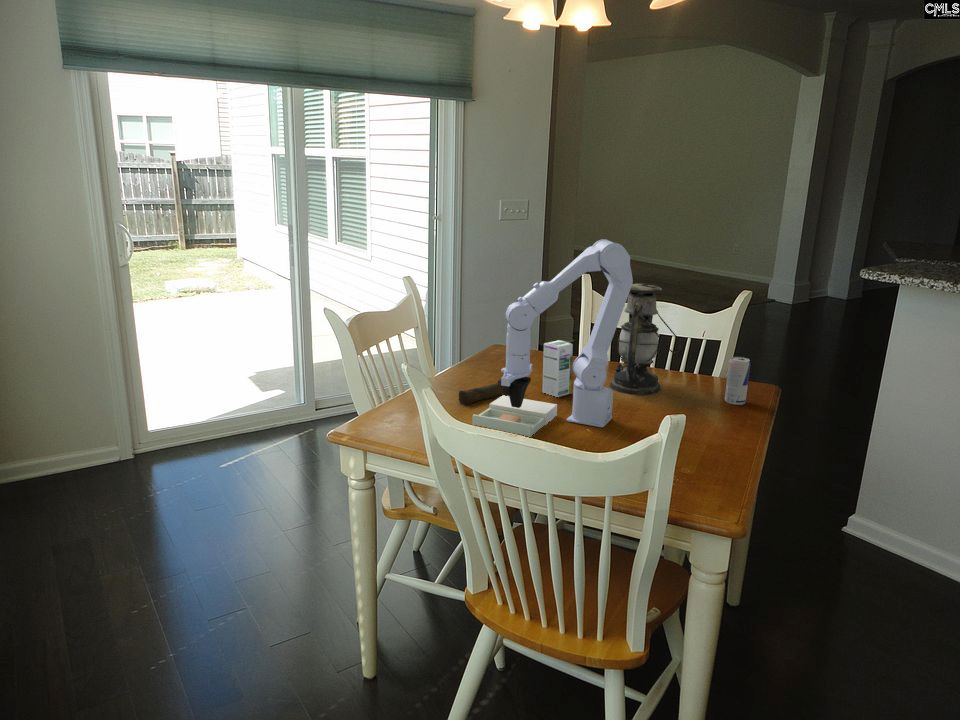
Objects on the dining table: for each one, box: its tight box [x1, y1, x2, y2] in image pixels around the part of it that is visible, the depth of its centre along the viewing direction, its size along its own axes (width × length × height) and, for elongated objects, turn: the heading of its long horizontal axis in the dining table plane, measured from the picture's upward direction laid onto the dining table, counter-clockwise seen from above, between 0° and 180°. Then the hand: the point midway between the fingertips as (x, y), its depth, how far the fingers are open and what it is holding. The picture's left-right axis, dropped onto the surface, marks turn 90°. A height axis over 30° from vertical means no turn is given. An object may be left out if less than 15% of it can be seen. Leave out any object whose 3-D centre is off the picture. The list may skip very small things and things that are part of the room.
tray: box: [471, 407, 546, 438], centre depth 169 cm, size 15×9×3 cm, turn 63°
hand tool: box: [458, 378, 509, 406], centre depth 189 cm, size 19×4×5 cm, turn 126°
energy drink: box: [724, 356, 751, 406], centre depth 188 cm, size 5×5×12 cm
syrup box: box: [542, 339, 574, 398], centre depth 192 cm, size 6×6×14 cm
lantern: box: [609, 282, 682, 396], centre depth 196 cm, size 19×19×30 cm
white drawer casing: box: [488, 395, 558, 426], centre depth 176 cm, size 15×8×3 cm, turn 63°
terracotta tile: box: [497, 414, 521, 423], centre depth 168 cm, size 4×4×2 cm
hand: (516, 406), depth 172 cm, fingers closed
